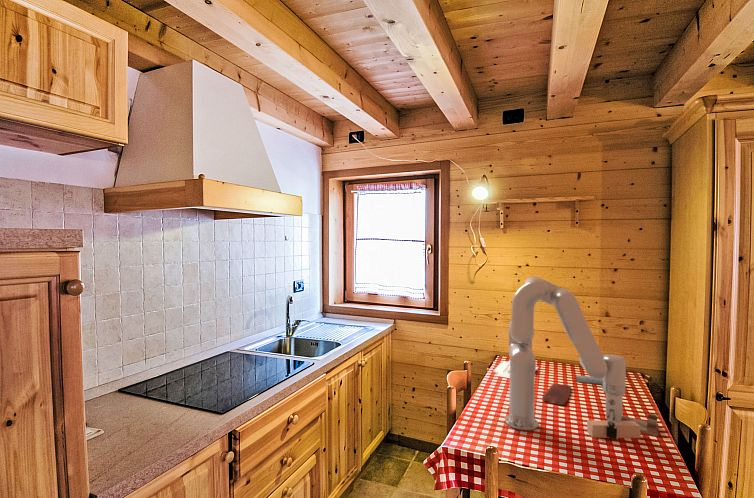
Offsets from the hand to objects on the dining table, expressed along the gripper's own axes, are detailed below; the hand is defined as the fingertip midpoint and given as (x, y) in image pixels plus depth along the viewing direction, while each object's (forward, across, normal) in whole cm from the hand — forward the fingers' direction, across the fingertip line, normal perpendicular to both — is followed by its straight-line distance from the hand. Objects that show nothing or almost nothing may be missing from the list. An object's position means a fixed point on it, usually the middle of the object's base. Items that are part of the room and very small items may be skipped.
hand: (612, 432), depth 152 cm
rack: (+1, +14, -6) cm, 15 cm away
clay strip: (+1, 0, 0) cm, 1 cm away
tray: (+2, +51, +53) cm, 73 cm away
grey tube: (+2, +57, +11) cm, 58 cm away
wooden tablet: (+1, +29, +31) cm, 42 cm away
